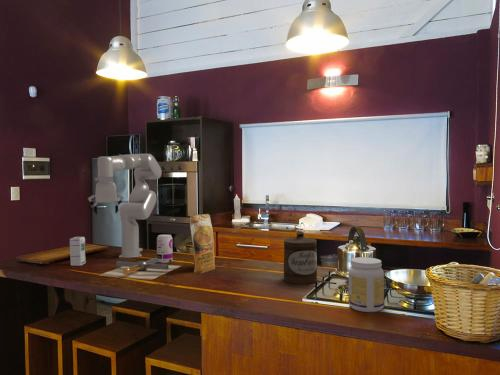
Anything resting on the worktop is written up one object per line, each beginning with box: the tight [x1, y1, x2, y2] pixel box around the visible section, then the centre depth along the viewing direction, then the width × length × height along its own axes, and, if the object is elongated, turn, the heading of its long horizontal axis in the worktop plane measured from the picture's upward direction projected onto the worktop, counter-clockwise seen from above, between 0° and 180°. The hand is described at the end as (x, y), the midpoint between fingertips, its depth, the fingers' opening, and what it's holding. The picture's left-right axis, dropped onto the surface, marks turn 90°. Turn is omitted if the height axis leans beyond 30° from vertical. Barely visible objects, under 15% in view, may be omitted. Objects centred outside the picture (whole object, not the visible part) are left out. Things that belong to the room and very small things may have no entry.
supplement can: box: [156, 234, 174, 264], centre depth 213 cm, size 8×8×15 cm
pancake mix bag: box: [188, 213, 216, 275], centre depth 195 cm, size 7×19×28 cm, turn 148°
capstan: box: [115, 257, 169, 274], centre depth 192 cm, size 28×28×4 cm
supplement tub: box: [348, 256, 385, 313], centre depth 140 cm, size 12×12×17 cm
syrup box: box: [69, 236, 87, 267], centre depth 211 cm, size 6×6×14 cm
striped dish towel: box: [99, 264, 181, 281], centre depth 192 cm, size 28×28×2 cm
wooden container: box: [283, 230, 318, 285], centre depth 178 cm, size 15×15×22 cm
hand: (106, 213), depth 205 cm, fingers open, 9 cm apart
